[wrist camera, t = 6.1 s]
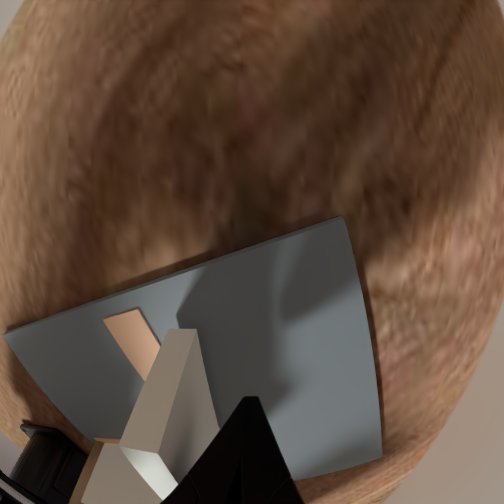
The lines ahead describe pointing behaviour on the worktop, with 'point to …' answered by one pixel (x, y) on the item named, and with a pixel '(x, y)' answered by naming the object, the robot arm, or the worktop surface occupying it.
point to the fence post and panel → (111, 479)
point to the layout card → (230, 347)
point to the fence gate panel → (171, 414)
